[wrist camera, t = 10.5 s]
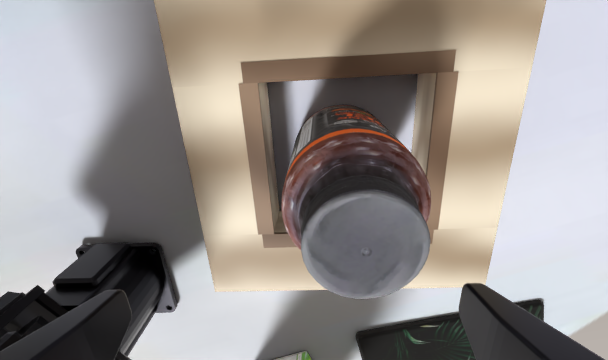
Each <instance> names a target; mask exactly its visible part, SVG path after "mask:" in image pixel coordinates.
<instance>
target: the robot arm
mask: <svg viewBox="0 0 608 360" xmlns="http://www.w3.org/2000/svg"><path fill="white" fill-rule="evenodd" d="M153 249H154V250H155V251H154V250H153ZM76 254H77V257H78V259H77V260H76V261H75V262H74V263H73V264H71V265H70V266H69V267H68V268H67V269H65V270H64V271H63V272H62V273H61V274H59V275H58V276H57V277H56V278H55V279H54V281H53V285H54V286H53V287H52V288H51V289H50V290H49V291H48V292H47V293H44V291H45V290H43V289H42V288H41V287H40V286H38V285H37V286H36V287H34V288H33V289H32V290H30V291H29V292H28V293H27V294H24V293H23V292H22V293H14V292H7V293H6V294H4V295H3V296H2V297H0V360H131V359H130V358H128V357H127V356H128V355H129V353H130V352H131V350H132V348H133V347H134V345H135V344H136V342H137V341H138V339H139V337H140V336H141V334H142V333H143V331H144V329H145V328H146V326H147V325H148V323H149V322H150V320H151V318H152V317H153V315H154V314H155V313H166V312H173V311H175V309H176V307H177V302H176V298H175V295H174V291H173V287H172V284H171V280H170V276H169V273H168V269H167V266H166V262H165V258H164V255H163V251H162V248H161V246H160V245H159V244H157V243H132V244H129V243H98V244H95V245H82V246H80V247H79V248H78V249H77V250H76ZM459 315H460V318H461V321H462V324H463V326H464V329H465V332H466V334H467V337H468V339H469V342H470V345H471V347H472V350H473V353H474V355H475V358H476V360H605V359H603V358H601V357H600V356H598V355H597V354H595V353H593V352H592V351H590V350H589V349H587V348H585V347H584V346H582V345H581V344H579V343H577V342H576V341H574V340H572V339H571V338H569V337H568V336H566V335H565V334H563V333H561V332H560V331H558V330H556V329H555V328H553V327H552V326H550V325H548V324H547V323H545V322H544V321H542V320H540V319H539V318H537V317H536V316H534V315H532V314H531V313H529V312H527V311H526V310H524V309H523V308H521V307H519V306H518V305H516V304H515V303H513V302H511V301H510V300H508V299H507V298H505V297H503V296H502V295H500V294H499V293H497V292H495V291H494V290H492V289H490V288H489V287H487V286H486V285H484V284H482V283H466V284H464V286H463V288H462V293H461V298H460V304H459Z"/></svg>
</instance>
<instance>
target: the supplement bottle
mask: <svg viewBox="0 0 608 360" xmlns="http://www.w3.org/2000/svg"><path fill="white" fill-rule="evenodd" d="M281 206H282V217H283V221H284V225H285V228H286V230H287V232H288V234H289V236H290V238H291V239H292V241H293V242H294V244H295V245H296V246H297V247H298V248H299V249H300V250H301V252H302V257H303V261H304V263H305V266H306V268H307V270H308V272H309V273H310V274H311V276H312V277H313V278H314V279H315V280H316V281H317V282H318V283H319V284H320V285H321V286H322V287H324V288H325V289H327V290H329V291H330V292H332V293H335V294H337V295H340V296H343V297H350V298H354V299H370V298H377V297H380V296H386V295H388V294H391V293H393V292H395V291H397V290H399V289H401V288H403V287H404V286H406V285H408V284H409V283H410V282H411V281H412V280H413V279H414V278H415V277H416V276H417V275H418V274H419V272H420V271H421V270H422V268H423V266H424V265H425V262H426V260H427V258H428V255H429V251H430V233H429V229H428V226H427V222H428V219H429V216H430V210H431V191H430V185H429V182H428V179H427V177H426V175H425V173H424V171H423V169H422V167H421V165H420V164H419V162H418V161H417V159H416V158H415V157H414V156H413V155H412V154H411V153H410V152H409V150H408V149H407V148H406V147H405V146H404V145H403V144H402V143H401V142H400V141H399V140H398V139H397V138H396V137H395V136H394V135H393V134H391V133H390V132H389V130H388V129H387V128H386V127H385V126H384V125H383V124H382V123H381V122H380V121H379V120H378V119H376V118H375V117H374V116H373V115H372V114H370V113H369V112H368V111H365V110H364V109H362V108H359V107H356V106H350V105H334V106H330V107H327V108H324V109H321V110H320V111H318V112H316V113H315V114H314V115H312V116H311V117H310V118H309V119H308V120H307V121H306V122H305V124H304V125H303V126H302V128H301V129H300V131H299V133H298V135H297V138H296V141H295V145H294V149H293V153H292V156H291V160H290V164H289V167H288V171H287V174H286V178H285V182H284V186H283V191H282V202H281Z"/></svg>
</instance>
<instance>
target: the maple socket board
mask: <svg viewBox="0 0 608 360" xmlns="http://www.w3.org/2000/svg"><path fill="white" fill-rule="evenodd" d="M154 4H155V8H156V13H157V18H158V23H159V27H160V32H161V37H162V42H163V46H164V51H165V56H166V61H167V65H168V70H169V75H170V80H171V84H172V89H173V94H174V98H175V103H176V108H177V113H178V117H179V122H180V127H181V132H182V136H183V141H184V146H185V151H186V155H187V160H188V165H189V170H190V174H191V179H192V184H193V189H194V193H195V198H196V203H197V207H198V212H199V217H200V222H201V226H202V231H203V236H204V241H205V245H206V250H207V255H208V260H209V264H210V269H211V274H212V279H213V283H214V288H215V292H231V291H287V290H327V289H325V288H324V287H322V286H321V285H320V284H319V283H318V282H317V281H316V280H315V279H314V278H313V277H312V276H311V274H310V273H309V272H308V270H307V268H306V266H305V263H304V261H303V257H302V252H301V250H300V249H299V248H298V247H297V246H296V245H295V244H294V242H293V241H292V239H291V238H290V236H289V234H288V232H287V230H286V228H285V225H284V221H283V217H282V211H279V201H278V191H277V180H276V170H275V160H274V149H273V139H272V129H271V118H270V108H269V98H268V87H267V82H281V81H298V80H316V79H334V78H352V77H370V76H388V75H406V74H418V79H417V92H416V104H415V116H414V128H413V140H412V152H411V154H412V155H413V156H414V157H415V158H416V159H417V161H418V162H419V164H420V165H421V167H422V169H423V171H424V173H425V175H426V177H427V179H428V182H429V185H430V191H431V210H430V216H429V219H428V222H427V226H428V229H429V233H430V251H429V255H428V258H427V260H426V262H425V265H424V266H423V268H422V270H421V271H420V272H419V274H418V275H417V276H416V277H415V278H414V279H413V280H412V281H411V282H410V283H409V284H408V285H406V286H404V287H403V288H453V287H463V286H464V284H466V283H482V284H484V285H485V283H486V279H487V274H488V269H489V265H490V260H491V255H492V251H493V246H494V241H495V237H496V232H497V227H498V223H499V218H500V213H501V209H502V204H503V199H504V195H505V190H506V185H507V181H508V176H509V171H510V167H511V162H512V158H513V153H514V148H515V144H516V139H517V134H518V130H519V125H520V120H521V116H522V111H523V106H524V102H525V97H526V92H527V88H528V83H529V78H530V74H531V69H532V64H533V60H534V55H535V50H536V46H537V41H538V37H539V32H540V27H541V23H542V18H543V13H544V9H545V4H546V0H154Z"/></svg>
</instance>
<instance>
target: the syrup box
mask: <svg viewBox="0 0 608 360" xmlns="http://www.w3.org/2000/svg"><path fill="white" fill-rule="evenodd" d="M275 360H312V359H311V358H310V356H309V354H308V353H307V352H306V351H303V352H300V353H296V354H292V355H289V356H285V357H282V358H278V359H275Z"/></svg>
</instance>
